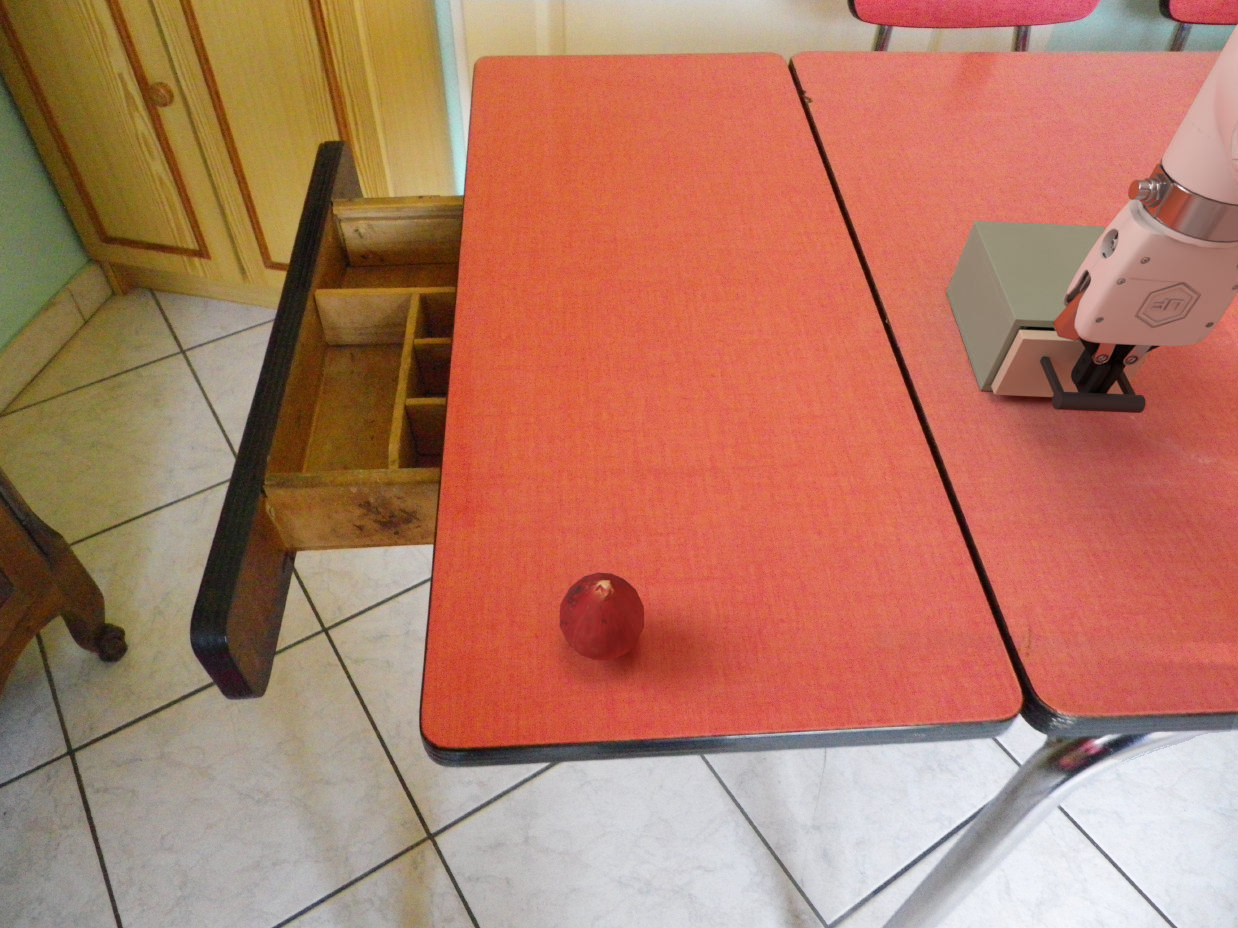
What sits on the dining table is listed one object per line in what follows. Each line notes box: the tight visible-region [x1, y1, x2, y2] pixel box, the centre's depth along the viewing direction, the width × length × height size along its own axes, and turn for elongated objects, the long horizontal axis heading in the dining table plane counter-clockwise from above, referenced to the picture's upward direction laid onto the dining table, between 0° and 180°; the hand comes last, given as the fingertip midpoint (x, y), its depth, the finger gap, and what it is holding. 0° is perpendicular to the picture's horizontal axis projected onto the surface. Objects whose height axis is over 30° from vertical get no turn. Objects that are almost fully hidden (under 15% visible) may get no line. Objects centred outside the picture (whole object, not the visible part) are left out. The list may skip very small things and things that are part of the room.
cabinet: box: [945, 220, 1107, 392], centre depth 80 cm, size 15×13×9 cm
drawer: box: [991, 326, 1153, 414], centre depth 77 cm, size 19×11×7 cm, turn 178°
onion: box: [558, 572, 645, 661], centre depth 58 cm, size 6×6×8 cm
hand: (1085, 387), depth 73 cm, fingers closed
